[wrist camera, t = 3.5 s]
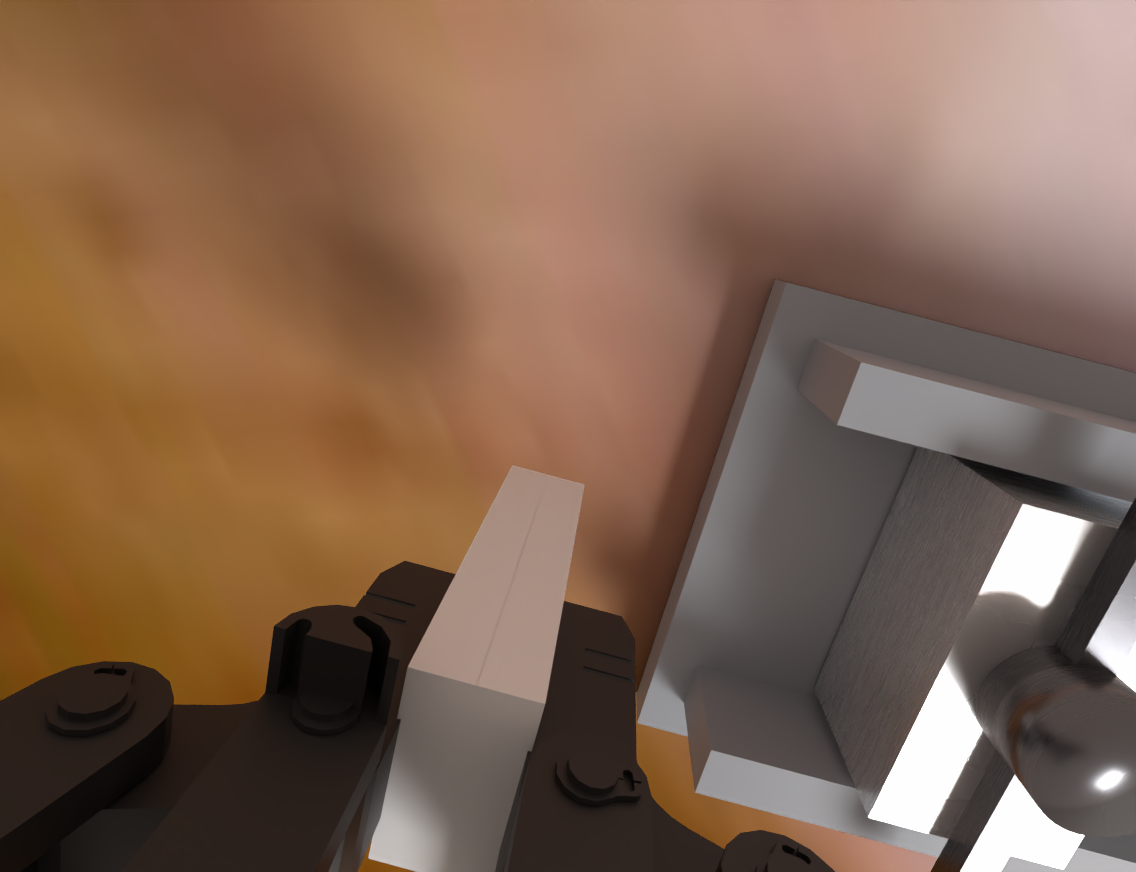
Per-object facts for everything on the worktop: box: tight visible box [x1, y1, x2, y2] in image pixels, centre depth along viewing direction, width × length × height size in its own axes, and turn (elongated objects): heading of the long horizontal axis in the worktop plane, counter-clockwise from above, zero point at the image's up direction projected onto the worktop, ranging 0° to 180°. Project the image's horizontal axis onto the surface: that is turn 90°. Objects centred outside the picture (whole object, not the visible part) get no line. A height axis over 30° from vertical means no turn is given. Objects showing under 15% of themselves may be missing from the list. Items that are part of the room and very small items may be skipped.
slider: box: [814, 446, 1136, 872], centre depth 13 cm, size 4×12×6 cm, turn 166°
